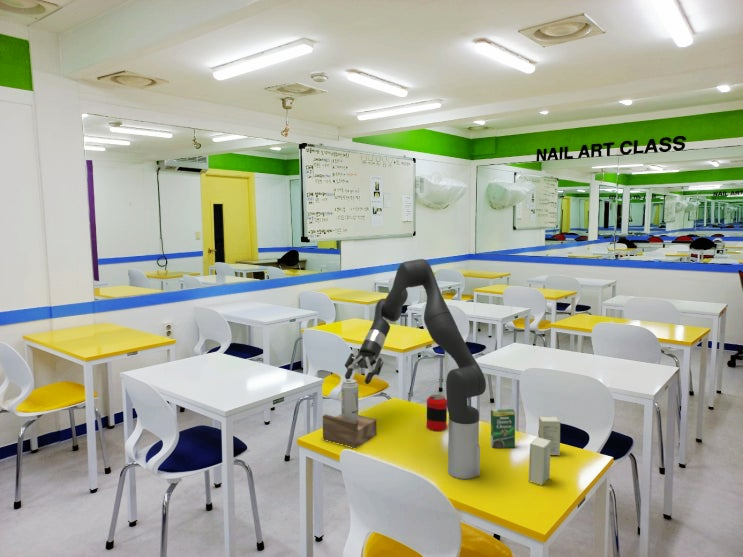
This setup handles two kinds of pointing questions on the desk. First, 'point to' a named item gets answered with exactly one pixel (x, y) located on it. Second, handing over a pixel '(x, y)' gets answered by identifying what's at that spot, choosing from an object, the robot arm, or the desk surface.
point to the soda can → (436, 413)
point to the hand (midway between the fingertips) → (356, 381)
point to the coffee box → (503, 428)
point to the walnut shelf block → (349, 430)
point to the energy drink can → (350, 400)
